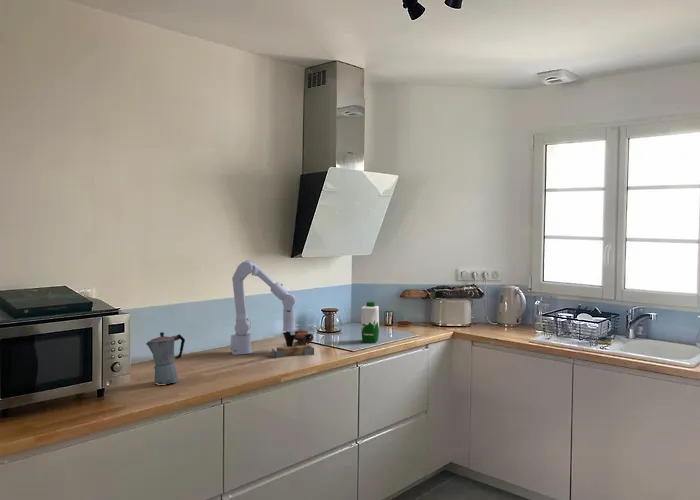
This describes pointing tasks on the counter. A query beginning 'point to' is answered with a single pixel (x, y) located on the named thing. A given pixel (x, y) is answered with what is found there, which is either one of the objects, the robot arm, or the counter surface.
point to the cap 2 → (309, 351)
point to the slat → (293, 350)
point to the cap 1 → (278, 353)
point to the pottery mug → (303, 338)
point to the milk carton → (370, 323)
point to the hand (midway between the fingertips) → (289, 347)
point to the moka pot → (165, 358)
